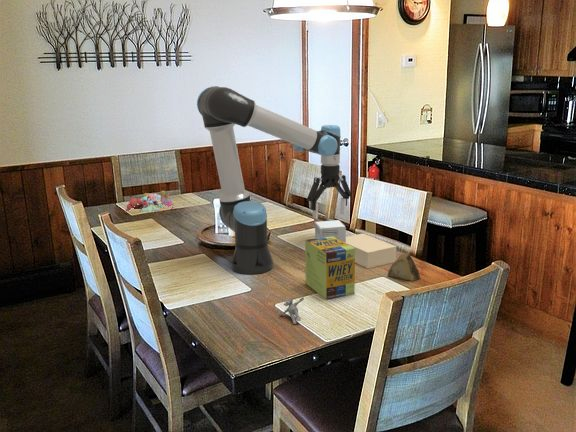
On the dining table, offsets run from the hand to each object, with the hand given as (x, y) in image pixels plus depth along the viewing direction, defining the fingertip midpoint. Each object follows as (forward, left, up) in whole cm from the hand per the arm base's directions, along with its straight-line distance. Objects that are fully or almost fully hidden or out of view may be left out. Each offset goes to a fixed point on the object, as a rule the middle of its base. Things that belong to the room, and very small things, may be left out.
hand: (329, 215), depth 228 cm
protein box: (-49, -12, -12) cm, 51 cm away
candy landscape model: (+34, +104, -12) cm, 110 cm away
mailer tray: (-7, -8, -10) cm, 15 cm away
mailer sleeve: (-16, -18, -11) cm, 26 cm away
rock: (-33, -34, -12) cm, 48 cm away
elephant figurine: (-73, -7, -12) cm, 74 cm away
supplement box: (-31, -8, -12) cm, 34 cm away
